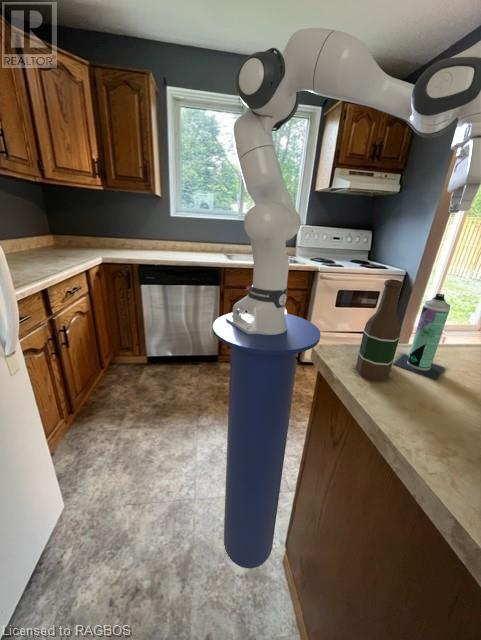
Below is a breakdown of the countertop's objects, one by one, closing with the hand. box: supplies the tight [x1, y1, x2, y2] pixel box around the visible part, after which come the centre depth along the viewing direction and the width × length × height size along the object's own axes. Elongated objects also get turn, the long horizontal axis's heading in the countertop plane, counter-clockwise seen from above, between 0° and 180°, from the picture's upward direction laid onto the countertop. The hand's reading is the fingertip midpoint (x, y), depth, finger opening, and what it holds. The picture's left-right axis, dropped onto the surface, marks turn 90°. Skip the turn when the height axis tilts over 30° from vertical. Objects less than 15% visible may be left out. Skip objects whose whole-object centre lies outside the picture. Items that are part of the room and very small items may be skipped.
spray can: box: [407, 293, 451, 371], centre depth 70 cm, size 6×6×20 cm
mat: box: [393, 353, 445, 381], centre depth 74 cm, size 10×9×1 cm
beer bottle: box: [355, 278, 404, 382], centre depth 65 cm, size 8×8×24 cm
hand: (457, 211), depth 58 cm, fingers open, 8 cm apart
